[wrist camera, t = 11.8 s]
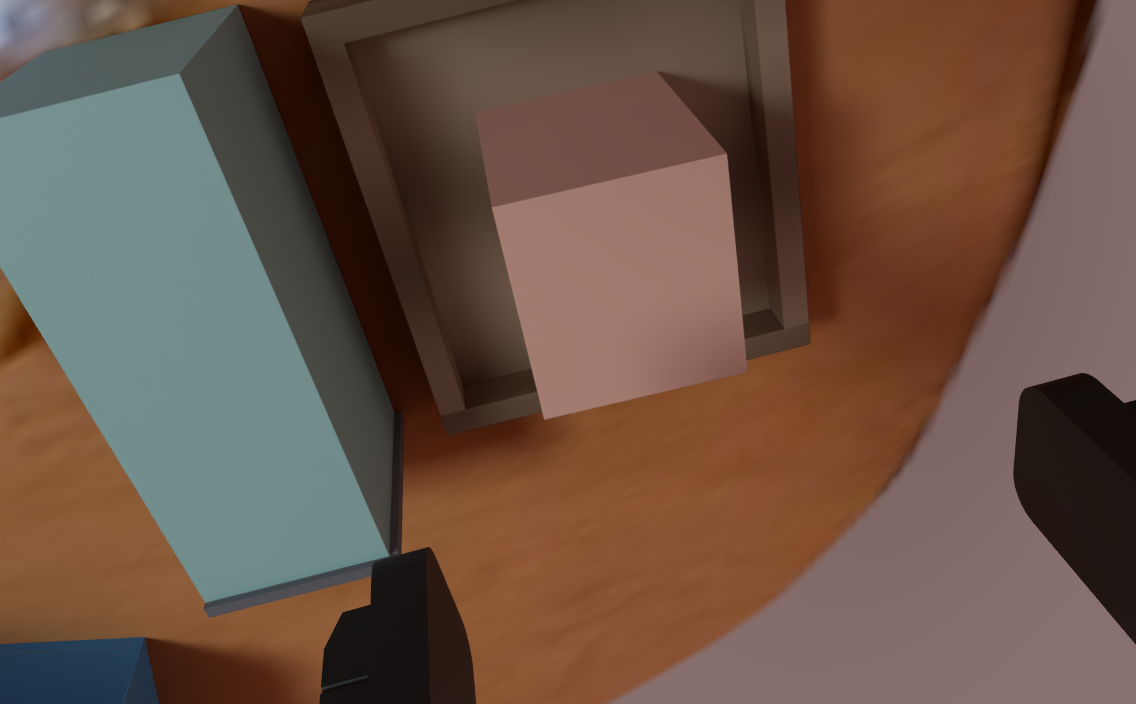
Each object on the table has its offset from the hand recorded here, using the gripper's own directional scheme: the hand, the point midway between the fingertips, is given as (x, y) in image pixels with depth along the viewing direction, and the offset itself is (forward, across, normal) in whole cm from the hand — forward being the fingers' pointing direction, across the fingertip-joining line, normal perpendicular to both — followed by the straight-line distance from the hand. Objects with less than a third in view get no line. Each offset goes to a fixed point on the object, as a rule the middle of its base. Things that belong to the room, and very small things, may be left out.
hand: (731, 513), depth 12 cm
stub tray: (+14, 0, +1) cm, 14 cm away
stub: (+13, 0, +1) cm, 13 cm away
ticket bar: (+14, +9, +1) cm, 16 cm away
